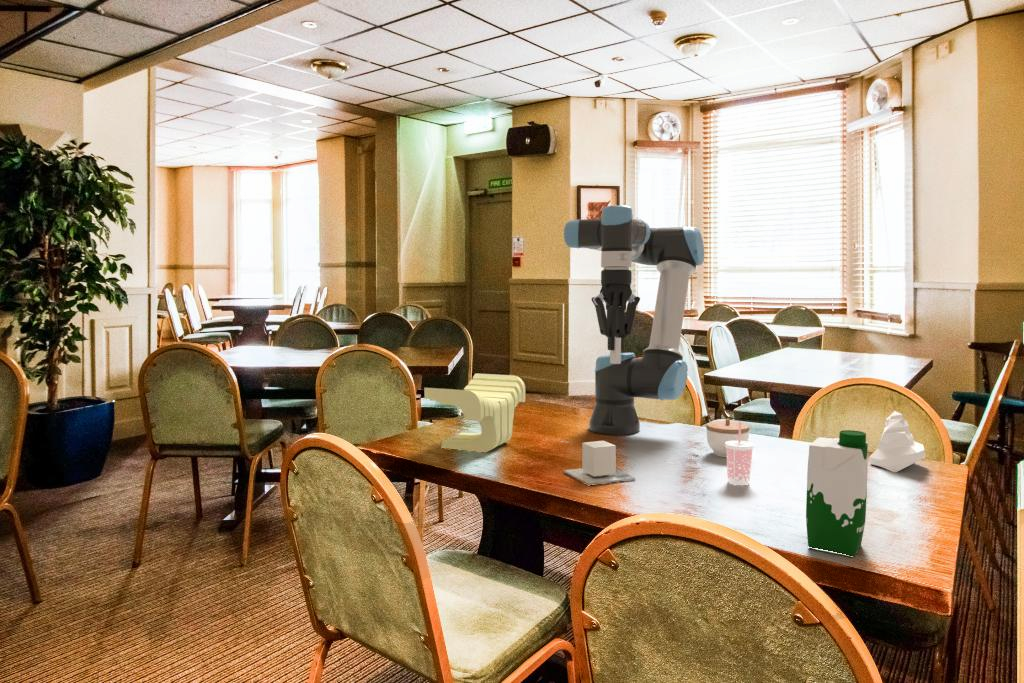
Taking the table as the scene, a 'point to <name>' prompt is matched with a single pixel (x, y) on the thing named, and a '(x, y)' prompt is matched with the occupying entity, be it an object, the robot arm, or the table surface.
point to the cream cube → (599, 458)
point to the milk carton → (837, 492)
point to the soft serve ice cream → (897, 445)
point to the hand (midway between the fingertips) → (615, 363)
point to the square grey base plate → (598, 477)
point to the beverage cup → (739, 460)
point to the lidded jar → (724, 435)
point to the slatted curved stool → (483, 409)
